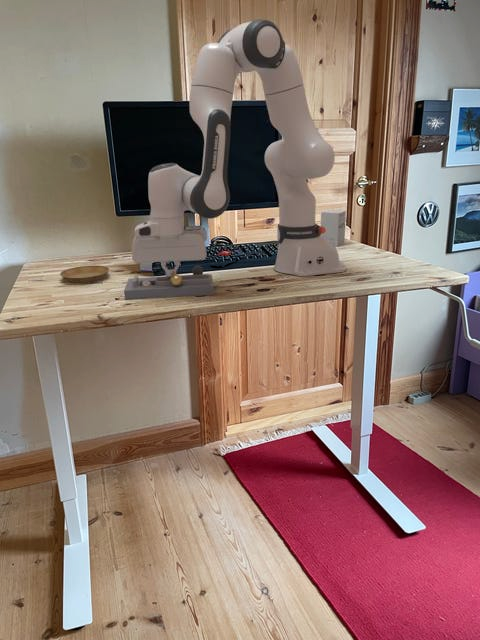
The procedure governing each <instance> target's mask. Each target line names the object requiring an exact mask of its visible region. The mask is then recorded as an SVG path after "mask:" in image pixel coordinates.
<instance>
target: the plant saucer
mask: <svg viewBox="0 0 480 640" xmlns="http://www.w3.org/2000/svg"><path fill="white" fill-rule="evenodd" d="M109 272H110V268H109V267H108V266H106V265H105V266H104V265H99V264H98V265H96V264H94V265H93V264H92V265H82V266H75V267H70V268H67V269H65V270H62V271H60V272H59V276H60V277H61V278H63V279H64V280H65V281H67V282H68V283H70V284H79V285H80V284H91V283H95V282H98V281H101V280H103V279H104V278H105V277H106V276H107V274H108V273H109Z"/></svg>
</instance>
